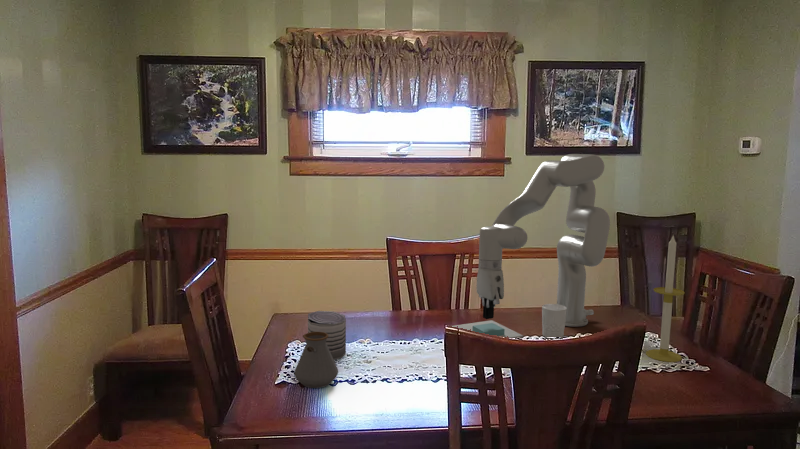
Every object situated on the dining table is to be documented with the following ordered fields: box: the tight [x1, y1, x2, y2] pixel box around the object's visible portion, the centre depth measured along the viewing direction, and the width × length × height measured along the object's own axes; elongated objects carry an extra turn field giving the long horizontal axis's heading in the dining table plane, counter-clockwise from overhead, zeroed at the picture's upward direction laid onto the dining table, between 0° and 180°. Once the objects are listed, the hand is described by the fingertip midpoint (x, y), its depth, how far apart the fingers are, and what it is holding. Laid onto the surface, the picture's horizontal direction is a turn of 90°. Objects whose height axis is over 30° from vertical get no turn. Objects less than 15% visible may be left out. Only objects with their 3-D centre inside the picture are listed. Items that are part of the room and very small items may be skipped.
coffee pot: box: [293, 332, 339, 389], centre depth 147 cm, size 21×12×15 cm, turn 1°
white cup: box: [541, 303, 567, 340], centre depth 191 cm, size 8×8×10 cm
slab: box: [472, 323, 505, 336], centre depth 192 cm, size 8×2×7 cm
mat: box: [451, 319, 524, 339], centre depth 194 cm, size 19×18×1 cm
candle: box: [645, 235, 685, 363], centre depth 172 cm, size 10×10×38 cm
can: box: [307, 310, 347, 361], centre depth 172 cm, size 11×11×12 cm
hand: (488, 317), depth 192 cm, fingers closed
